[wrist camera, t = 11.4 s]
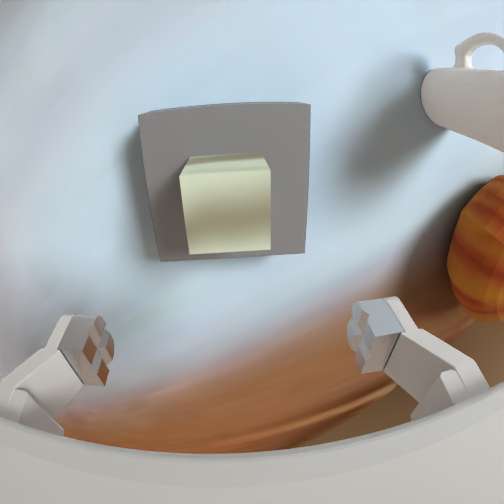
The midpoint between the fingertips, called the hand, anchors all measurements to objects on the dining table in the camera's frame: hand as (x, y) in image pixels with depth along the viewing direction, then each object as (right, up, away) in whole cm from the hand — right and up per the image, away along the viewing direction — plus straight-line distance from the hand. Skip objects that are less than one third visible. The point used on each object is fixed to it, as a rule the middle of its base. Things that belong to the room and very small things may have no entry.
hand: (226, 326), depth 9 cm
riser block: (-1, +9, +16) cm, 18 cm away
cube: (-1, +7, +12) cm, 14 cm away
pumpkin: (+32, +5, +21) cm, 39 cm away
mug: (+19, +19, +12) cm, 30 cm away
